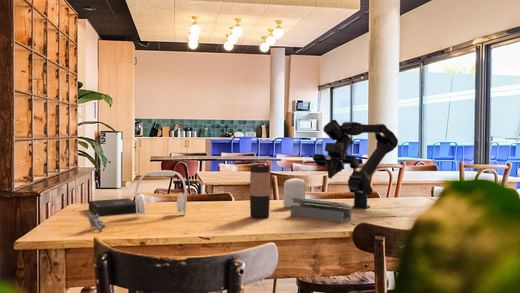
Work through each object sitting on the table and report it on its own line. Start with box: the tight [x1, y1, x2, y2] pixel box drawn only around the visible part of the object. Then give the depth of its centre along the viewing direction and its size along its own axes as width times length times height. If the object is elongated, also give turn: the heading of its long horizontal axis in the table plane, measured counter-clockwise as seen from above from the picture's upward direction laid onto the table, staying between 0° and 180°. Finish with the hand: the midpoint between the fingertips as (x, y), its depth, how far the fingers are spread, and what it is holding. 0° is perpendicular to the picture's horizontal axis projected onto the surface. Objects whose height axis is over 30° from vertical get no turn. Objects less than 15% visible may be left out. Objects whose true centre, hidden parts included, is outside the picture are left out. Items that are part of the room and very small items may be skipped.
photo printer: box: [283, 177, 306, 208], centre depth 209 cm, size 10×4×12 cm, turn 123°
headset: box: [134, 169, 188, 220], centre depth 184 cm, size 20×7×18 cm, turn 108°
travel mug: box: [249, 164, 271, 220], centre depth 184 cm, size 8×8×20 cm
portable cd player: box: [88, 197, 140, 217], centre depth 195 cm, size 16×17×4 cm
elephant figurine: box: [83, 210, 107, 233], centre depth 160 cm, size 10×6×9 cm
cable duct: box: [290, 203, 352, 224], centre depth 185 cm, size 8×22×4 cm, turn 55°
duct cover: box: [291, 197, 353, 210], centre depth 184 cm, size 9×22×2 cm, turn 55°
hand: (329, 177), depth 192 cm, fingers closed
